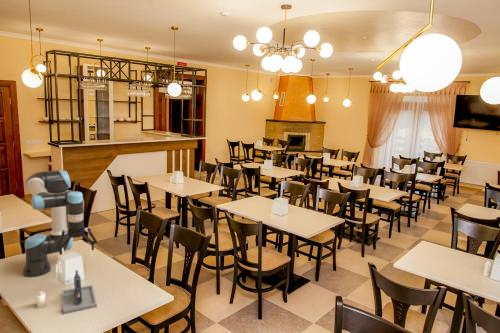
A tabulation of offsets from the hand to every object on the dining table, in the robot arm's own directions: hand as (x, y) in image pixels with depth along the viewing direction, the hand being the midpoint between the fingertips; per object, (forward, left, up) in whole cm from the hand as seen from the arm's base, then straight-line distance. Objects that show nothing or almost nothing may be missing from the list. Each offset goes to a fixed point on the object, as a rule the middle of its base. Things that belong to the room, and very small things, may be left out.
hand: (77, 257), depth 191 cm
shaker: (-1, -18, -25) cm, 31 cm away
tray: (+1, 0, -25) cm, 25 cm away
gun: (0, -1, -24) cm, 24 cm away
